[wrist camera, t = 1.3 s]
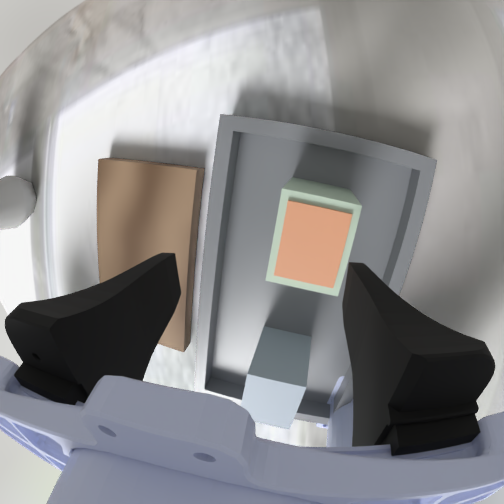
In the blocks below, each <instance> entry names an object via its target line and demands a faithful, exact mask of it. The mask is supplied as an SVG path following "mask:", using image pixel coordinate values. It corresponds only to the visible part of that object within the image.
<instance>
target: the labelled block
mask: <svg viewBox="0 0 504 504" xmlns="http://www.w3.org/2000/svg"><path fill="white" fill-rule="evenodd" d="M361 208H362V205H361V204H360V202H359V201H358V200H357V198H356V197H355V195H354V194H353V193H352V191H351V190H350V189H346V188H341V187H337V186H332V185H328V184H323V183H319V182H314V181H309V180H304V179H299V178H294V177H292V178H291V179H290V180H289V181H288V183H287V184H286V185H285V186H284V187H283V188H282V191H281V197H280V203H279V208H278V214H277V220H276V225H275V231H274V236H273V242H272V247H271V253H270V258H269V264H268V269H267V275H266V280H265V281H270V282H274V283H278V284H283V285H287V286H292V287H296V288H301V289H305V290H310V291H315V292H319V293H324V294H328V295H333V296H338V294H339V291H340V288H341V284H342V281H343V277H344V274H345V270H346V267H347V263H348V260H349V256H350V252H351V248H352V245H353V241H354V237H355V233H356V229H357V225H358V221H359V217H360V212H361Z"/></svg>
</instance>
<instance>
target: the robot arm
mask: <svg viewBox="0 0 504 504" xmlns="http://www.w3.org/2000/svg"><path fill="white" fill-rule="evenodd" d="M180 296H181V287H180V281H179V275H178V269H177V262H176V256H175V253H163V252H162V253H160V254H157V255H155V256H153V257H151V258H149V259H147V260H145V261H143V262H141V263H140V264H138V265H136V266H134V267H132V268H130V269H129V270H127V271H125V272H123V273H121V274H119V275H117V276H115V277H113V278H111V279H109V280H107V281H104V282H102V283H100V284H97V285H95V286H92V287H90V288H87V289H84V290H81V291H78V292H75V293H72V294H68V295H65V296H61V297H56V298H52V299H47V300H40V301H33V302H24V303H21V304H19V305H18V306H17V307H16V308H15V309H14V310H13V311H12V312H11V313H10V314H9V315H8V316H7V317H6V319H5V329H6V332H7V335H8V337H9V339H10V341H11V343H12V344H13V346H14V348H15V349H16V351H17V353H18V355H19V356H20V358H21V360H22V361H23V363H22V365H21V366H20V367H18V365H17V364H15V363H14V362H12V361H10V360H8V359H6V358H4V357H2V356H0V430H1V431H3V432H4V433H5V434H7V435H8V436H10V437H11V438H12V439H14V440H15V441H17V442H18V443H19V444H21V445H22V446H24V447H25V448H26V449H28V450H29V451H31V452H32V453H34V454H35V455H37V456H38V457H40V458H41V459H43V460H44V461H46V462H48V463H49V464H51V465H52V466H54V467H55V468H57V469H59V470H61V471H62V473H61V475H60V477H59V479H58V481H57V483H56V485H55V487H54V489H53V491H52V493H51V495H50V497H49V500H48V501H47V504H474V503H476V502H479V501H481V500H484V499H486V498H488V497H489V496H491V495H492V494H493V493H495V492H497V491H498V490H500V489H501V488H503V487H504V412H501V413H497V414H493V415H489V416H486V417H483V418H482V419H480V420H479V421H478V422H477V419H476V416H475V413H477V412H478V409H479V408H478V405H477V402H476V400H477V399H478V397H479V396H480V395H481V393H482V392H483V390H484V389H485V388H486V386H487V385H488V383H489V381H490V380H491V378H492V376H493V374H494V370H495V362H494V359H493V357H492V355H491V353H490V351H489V349H488V347H487V346H486V344H485V342H484V341H481V340H478V339H475V338H472V337H469V336H466V335H463V334H461V333H459V332H456V331H454V330H452V329H450V328H447V327H445V326H443V325H441V324H440V323H438V322H436V321H434V320H432V319H431V318H429V317H427V316H426V315H424V314H422V313H421V312H419V311H418V310H417V309H415V308H414V307H412V306H411V305H410V304H408V303H407V302H406V301H404V300H403V299H402V298H401V297H400V296H398V295H397V294H396V293H395V292H394V291H393V290H391V289H390V288H389V287H388V286H387V285H386V284H385V283H384V282H383V281H382V280H381V279H380V278H379V277H378V276H377V275H376V274H375V273H374V272H373V271H372V270H371V269H370V268H369V267H368V266H367V265H365V264H364V263H358V262H349V264H348V271H347V278H346V284H345V290H344V296H343V301H342V310H343V324H344V330H345V335H346V340H347V346H348V351H349V357H350V362H351V368H352V379H353V399H352V401H351V403H348V404H346V405H344V406H342V407H341V408H339V409H338V410H336V411H335V412H334V413H333V409H334V396H335V395H336V393H337V391H338V389H339V387H340V385H341V383H342V381H343V377H344V376H341V377H339V379H338V380H337V383H336V385H335V387H334V389H333V391H334V392H333V391H332V394H331V396H330V398H329V400H328V402H327V404H330V419H329V421H328V425H326V424H320V423H316V426H317V427H321V428H327V429H328V431H327V446H326V447H298V446H293V445H289V444H284V443H279V442H275V441H271V440H267V439H262V438H259V437H256V434H255V422H254V420H253V419H252V417H251V415H250V413H249V412H248V411H247V410H246V409H244V408H243V407H241V406H240V405H238V404H236V403H235V402H233V401H232V400H230V399H226V398H222V397H219V396H215V395H212V394H208V393H201V392H195V391H189V390H184V389H178V388H173V387H168V386H163V385H158V384H153V383H149V382H144V381H143V378H144V375H145V372H146V369H147V366H148V364H149V361H150V358H151V356H152V354H153V352H154V349H155V347H156V346H157V344H158V342H159V340H160V338H161V336H162V335H163V333H164V331H165V329H166V327H167V325H168V323H169V322H170V320H171V318H172V316H173V314H174V312H175V310H176V307H177V305H178V302H179V299H180ZM339 382H340V383H339ZM331 400H332V401H331Z"/></svg>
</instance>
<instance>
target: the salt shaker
mask: <svg viewBox="0 0 504 504" xmlns="http://www.w3.org/2000/svg"><path fill="white" fill-rule="evenodd" d="M35 203H36V194H35V191H34V188H33V185H32V183H31V182H28V181H26V180H24V179H22V178H20V177H17V176H5V177H3V178H1V179H0V230H2V229H10V228H17V227H18V226H20V225H21V224H22V223H24V222H25V221H26V220H27V218H28V217H29V216H30V215H31V214H32V213H33V212H34V209H35Z"/></svg>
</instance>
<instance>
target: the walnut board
mask: <svg viewBox="0 0 504 504" xmlns="http://www.w3.org/2000/svg"><path fill="white" fill-rule="evenodd" d="M204 169H205V168H198V167H190V166H183V165H175V164H167V163H158V162H149V161H140V160H130V159H119V158H103V159H99V160H98V180H97V243H98V264H99V278H100V283H102V282H104V281H107V280H109V279H111V278H113V277H115V276H117V275H119V274H121V273H123V272H125V271H127V270H129V269H130V268H132V267H134V266H136V265H138V264H140V263H141V262H143V261H145V260H147V259H149V258H151V257H153V256H155V255H157V254H160V253H162V252H163V253H175V256H176V262H177V269H178V275H179V281H180V287H181V296H180V299H179V302H178V305H177V307H176V310H175V312H174V314H173V316H172V318H171V320H170V322H169V323H168V325H167V327H166V329H165V331H164V333H163V335H162V336H161V338H160V340H159V342H158V344H161V345H163V346H166V347H169V348H172V349H175V350H178V351H182V352H184V351H185V350H186V348H187V347H188V345H189V344H190V332H191V313H192V297H193V282H194V269H195V256H196V245H197V234H198V223H199V213H200V204H201V194H202V185H203V177H204Z"/></svg>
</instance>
